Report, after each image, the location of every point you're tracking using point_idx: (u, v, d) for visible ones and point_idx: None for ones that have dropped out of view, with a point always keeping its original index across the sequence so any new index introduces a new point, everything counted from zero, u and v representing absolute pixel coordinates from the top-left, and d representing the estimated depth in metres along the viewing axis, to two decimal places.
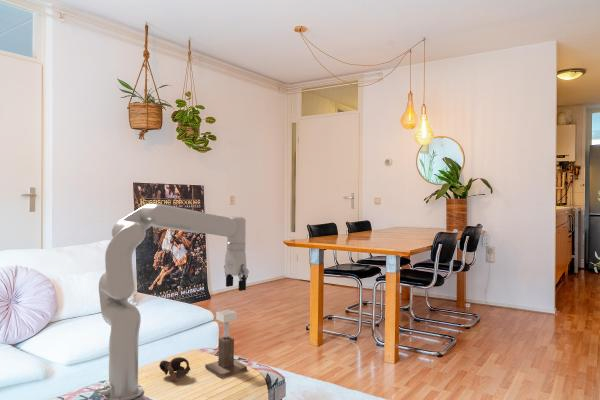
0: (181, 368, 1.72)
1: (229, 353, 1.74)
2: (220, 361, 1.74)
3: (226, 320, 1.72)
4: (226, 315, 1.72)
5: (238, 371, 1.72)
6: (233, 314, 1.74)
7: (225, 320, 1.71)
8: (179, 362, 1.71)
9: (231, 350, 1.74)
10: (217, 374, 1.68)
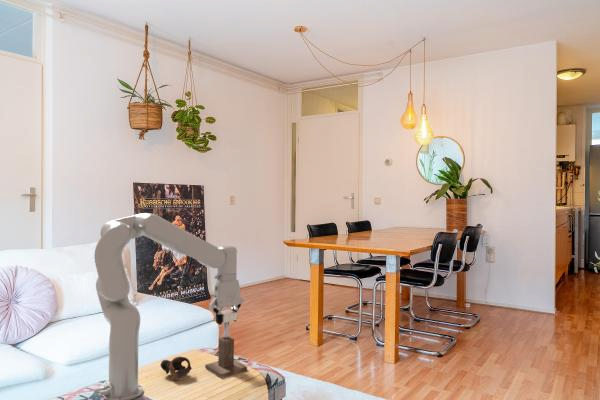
0: (182, 367, 1.73)
1: (229, 353, 1.74)
2: (220, 361, 1.74)
3: (226, 320, 1.72)
4: (226, 315, 1.72)
5: (238, 371, 1.72)
6: (233, 314, 1.74)
7: (225, 320, 1.71)
8: (180, 361, 1.72)
9: (231, 350, 1.74)
10: (217, 374, 1.68)
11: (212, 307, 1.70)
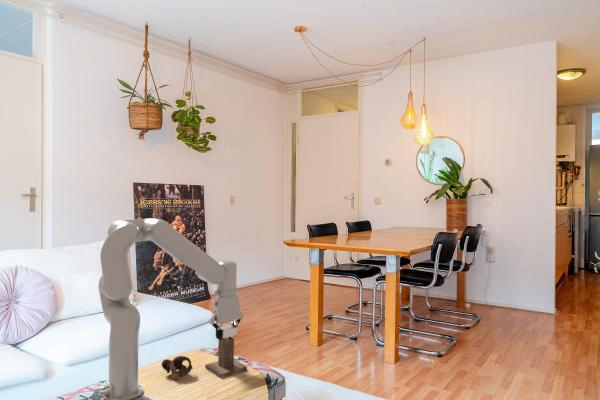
0: (183, 367, 1.73)
1: (229, 353, 1.74)
2: (220, 361, 1.74)
3: (226, 335, 1.72)
4: (226, 330, 1.72)
5: (238, 371, 1.72)
6: (233, 329, 1.74)
7: (225, 335, 1.71)
8: (181, 361, 1.72)
9: (231, 350, 1.74)
10: (217, 374, 1.68)
11: (212, 323, 1.70)
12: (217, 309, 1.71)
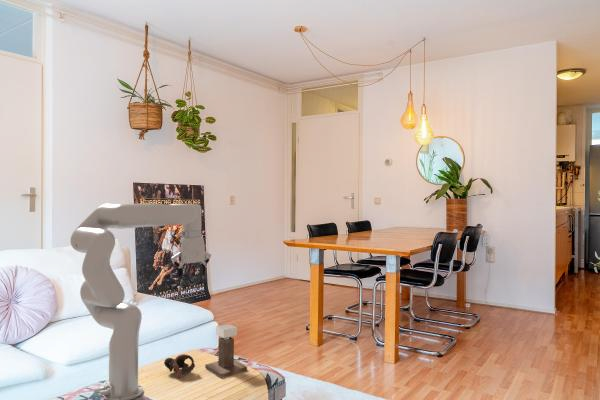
0: (185, 365, 1.75)
1: (229, 353, 1.74)
2: (220, 361, 1.74)
3: (226, 335, 1.72)
4: (226, 330, 1.72)
5: (238, 371, 1.72)
6: (233, 329, 1.74)
7: (225, 335, 1.71)
8: (183, 359, 1.74)
9: (231, 350, 1.74)
10: (217, 374, 1.68)
11: (174, 260, 1.74)
12: (181, 249, 1.75)
